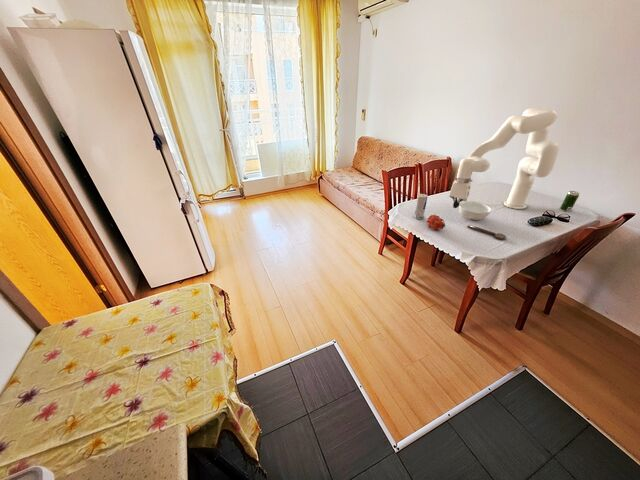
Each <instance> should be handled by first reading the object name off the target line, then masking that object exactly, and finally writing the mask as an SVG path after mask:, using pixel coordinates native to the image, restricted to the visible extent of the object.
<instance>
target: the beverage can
mask: <svg viewBox="0 0 640 480" xmlns="http://www.w3.org/2000/svg"><path fill="white" fill-rule="evenodd" d="M427 201H428V195H427V194H425V193H418V194H417V198H416V203H415V209H414V216H413V217H414V218H415V219H419V220H421V219H423V218H425V212H426V206H427Z"/></svg>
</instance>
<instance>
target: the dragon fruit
mask: <svg viewBox="0 0 640 480" xmlns="http://www.w3.org/2000/svg"><path fill="white" fill-rule="evenodd" d="M425 223H426V224H428V228H429V229H432V230H434V231H437V232H438V231H440V230H444V229H445V228H446V222H445V221H444V219H443V218H440V215H436V214H431V215H430V216H428V217H427V220H426V221H425Z"/></svg>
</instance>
